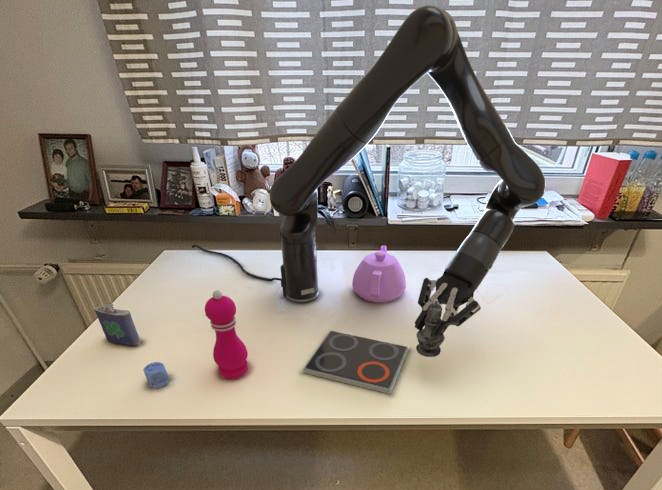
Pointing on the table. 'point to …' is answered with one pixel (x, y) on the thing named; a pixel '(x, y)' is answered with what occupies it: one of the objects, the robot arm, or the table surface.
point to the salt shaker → (426, 342)
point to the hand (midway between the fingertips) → (425, 333)
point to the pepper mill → (226, 337)
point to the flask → (117, 326)
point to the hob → (357, 361)
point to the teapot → (379, 277)
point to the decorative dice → (156, 374)
